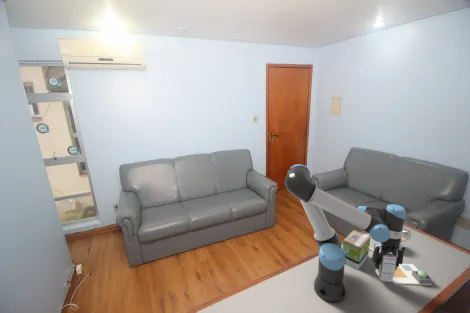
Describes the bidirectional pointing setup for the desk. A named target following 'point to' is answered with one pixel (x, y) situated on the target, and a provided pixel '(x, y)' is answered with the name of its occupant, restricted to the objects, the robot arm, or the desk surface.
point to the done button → (422, 274)
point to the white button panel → (409, 276)
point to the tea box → (356, 248)
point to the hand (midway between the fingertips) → (384, 273)
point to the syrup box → (387, 267)
